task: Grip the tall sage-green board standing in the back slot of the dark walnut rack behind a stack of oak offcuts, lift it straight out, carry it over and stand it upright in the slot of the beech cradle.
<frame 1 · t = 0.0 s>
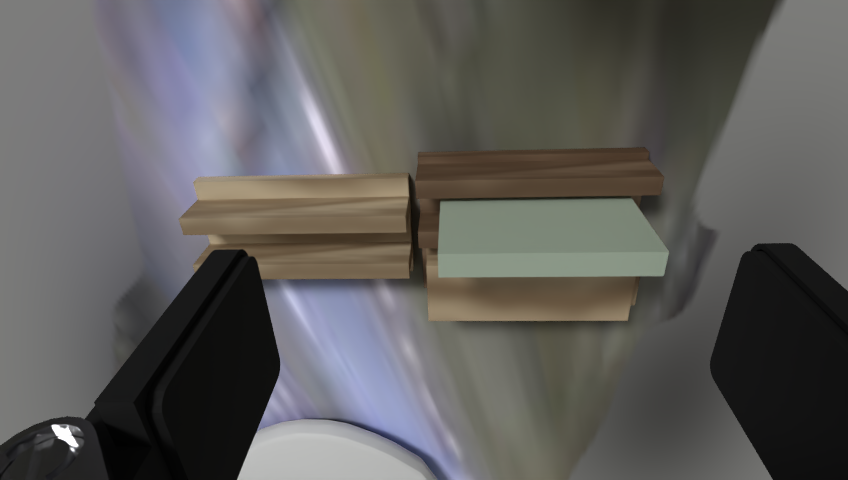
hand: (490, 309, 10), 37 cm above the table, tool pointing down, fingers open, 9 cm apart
cradle: (310, 222, 52), on the table
rack: (525, 219, 50), on the table
plate: (338, 475, 71), on the table
tall sheet: (529, 194, 48), point 1 cm above the table, touching rack
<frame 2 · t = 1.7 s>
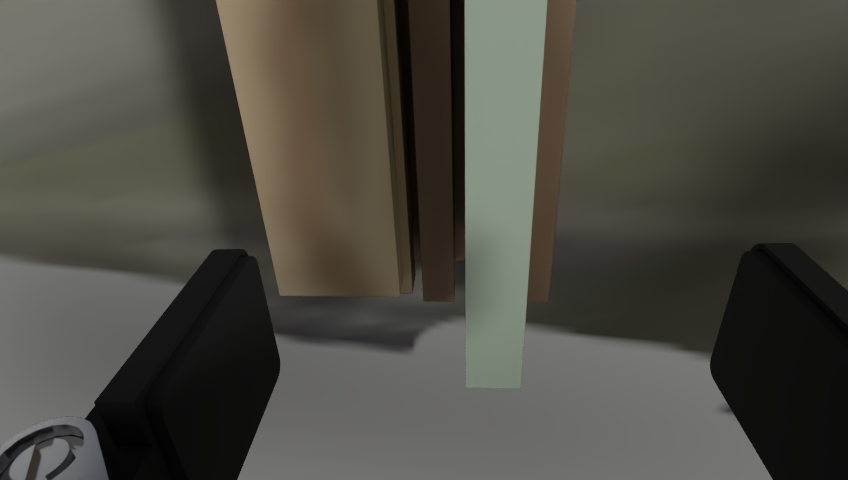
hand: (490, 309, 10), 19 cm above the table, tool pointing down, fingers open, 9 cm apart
rack: (422, 82, 27), on the table
tall sheet: (486, 86, 26), point 1 cm above the table, touching rack
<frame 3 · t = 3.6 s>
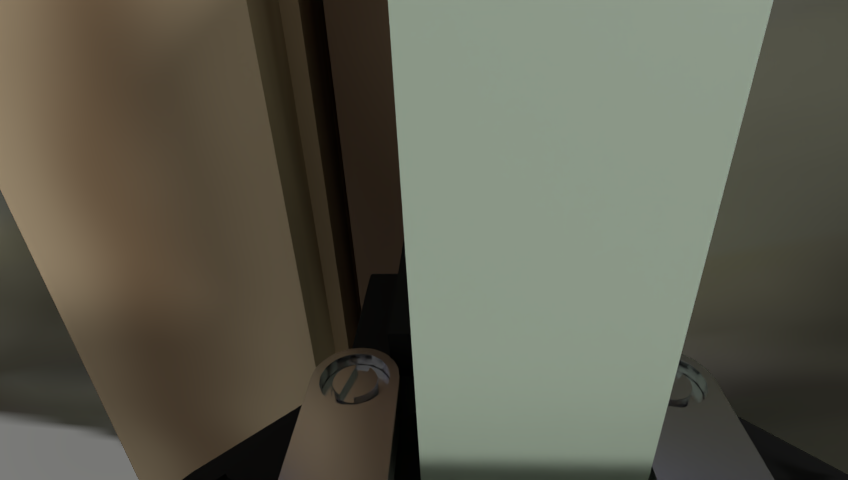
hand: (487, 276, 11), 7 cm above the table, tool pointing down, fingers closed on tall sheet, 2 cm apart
rack: (379, 165, 17), on the table
tall sheet: (477, 178, 16), point 1 cm above the table, touching gripper
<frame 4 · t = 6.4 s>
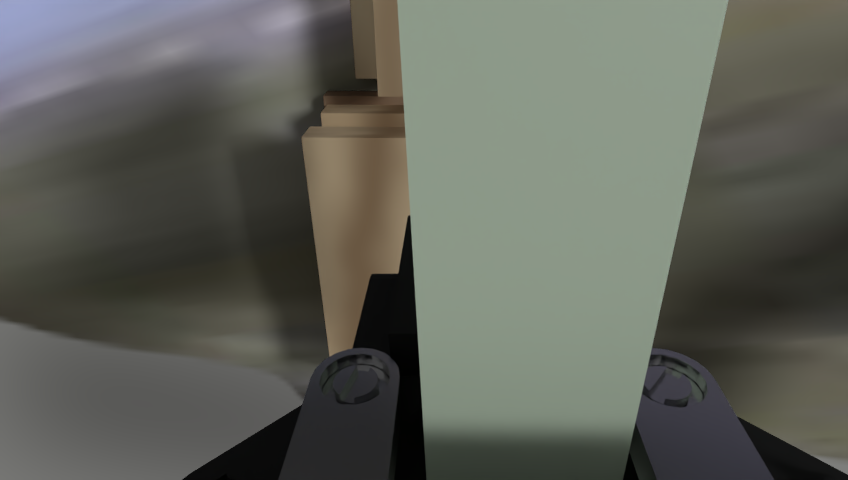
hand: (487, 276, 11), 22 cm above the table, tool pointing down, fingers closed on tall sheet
rack: (441, 236, 36), on the table
tall sheet: (477, 176, 17), point 16 cm above the table, touching gripper
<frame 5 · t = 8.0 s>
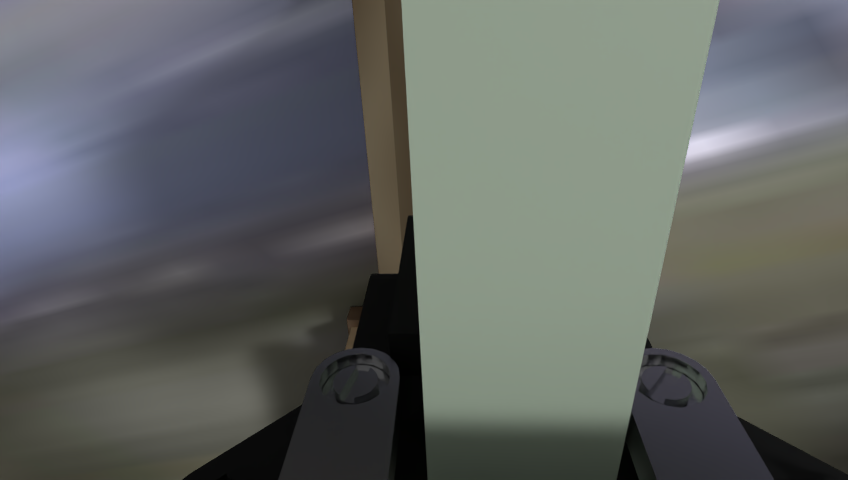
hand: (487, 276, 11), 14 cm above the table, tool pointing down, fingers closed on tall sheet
cradle: (478, 107, 23), on the table
rack: (475, 433, 34), on the table
tall sheet: (476, 171, 17), point 8 cm above the table, touching gripper
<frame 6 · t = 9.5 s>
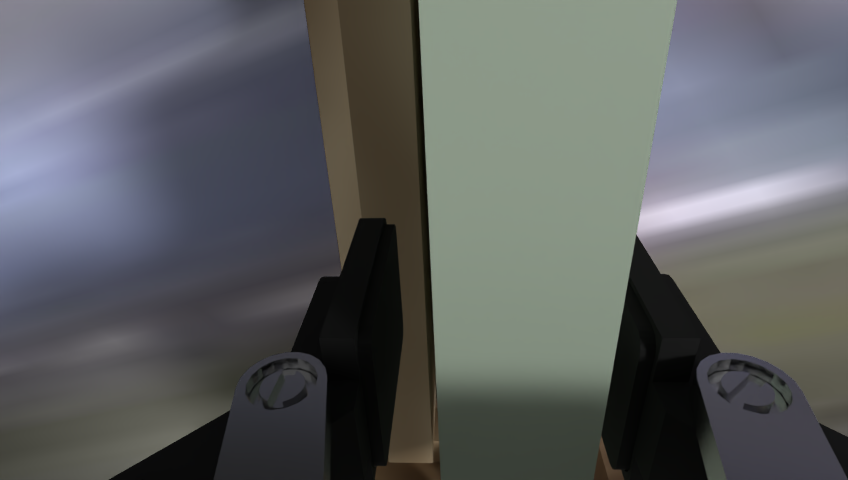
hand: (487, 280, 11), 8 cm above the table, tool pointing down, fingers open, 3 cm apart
cradle: (474, 148, 18), on the table
tall sheet: (478, 162, 17), point 1 cm above the table, touching cradle
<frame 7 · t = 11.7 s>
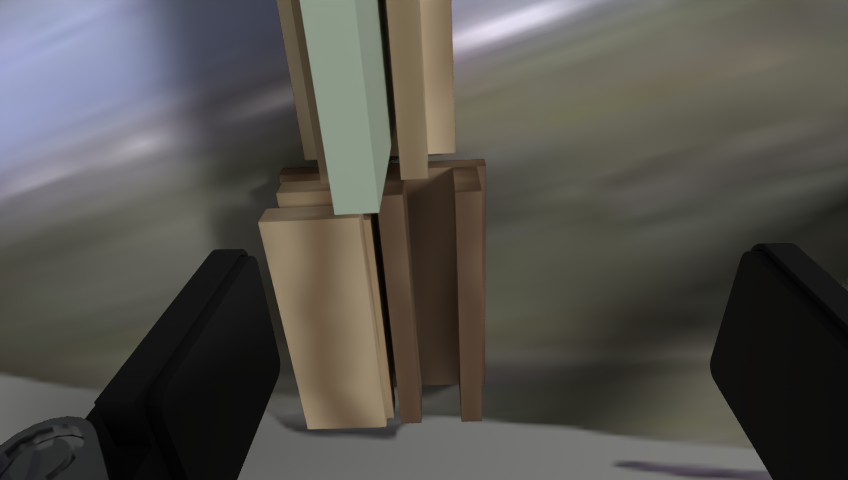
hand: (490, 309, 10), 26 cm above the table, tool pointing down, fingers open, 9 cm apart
rack: (394, 282, 41), on the table
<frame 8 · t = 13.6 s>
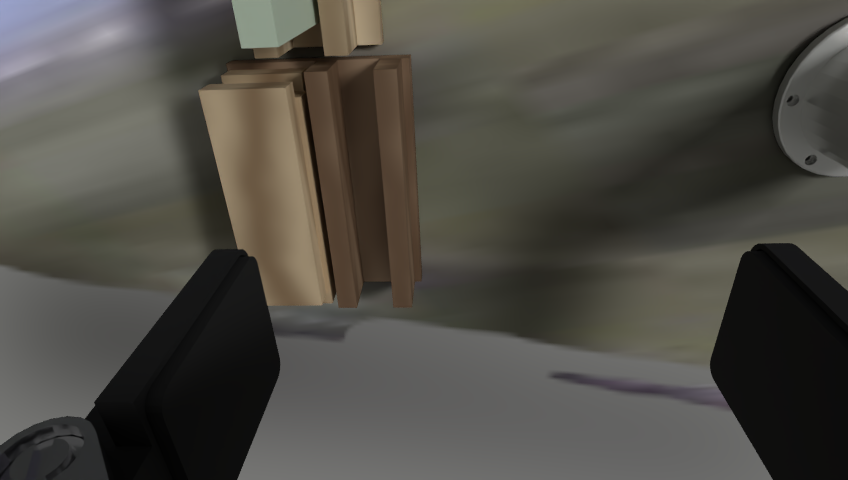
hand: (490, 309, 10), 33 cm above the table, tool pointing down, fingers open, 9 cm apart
rack: (336, 177, 45), on the table
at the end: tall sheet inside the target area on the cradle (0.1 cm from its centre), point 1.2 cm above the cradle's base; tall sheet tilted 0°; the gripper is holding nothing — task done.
